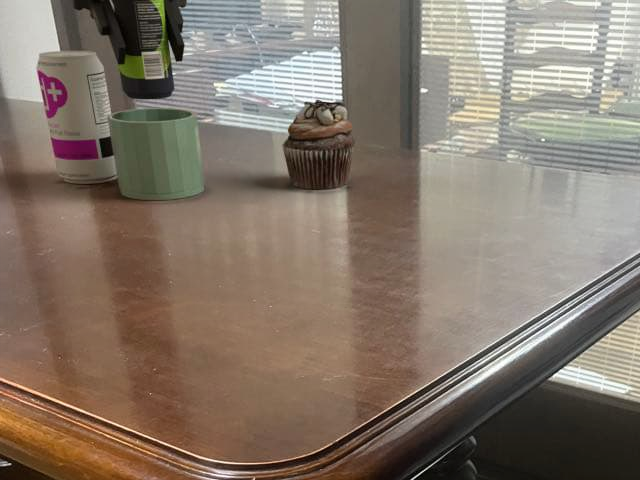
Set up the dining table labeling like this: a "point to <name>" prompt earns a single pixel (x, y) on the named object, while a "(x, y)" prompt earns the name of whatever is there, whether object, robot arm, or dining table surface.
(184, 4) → the robot arm
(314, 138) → the cupcake
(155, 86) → the beverage can
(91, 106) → the supplement can
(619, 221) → the dining table surface
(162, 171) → the green faceted cup
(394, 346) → the dining table surface
